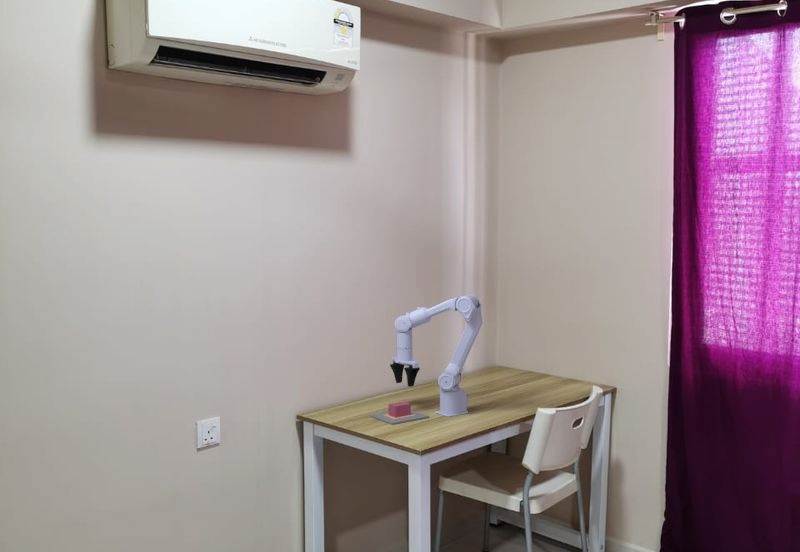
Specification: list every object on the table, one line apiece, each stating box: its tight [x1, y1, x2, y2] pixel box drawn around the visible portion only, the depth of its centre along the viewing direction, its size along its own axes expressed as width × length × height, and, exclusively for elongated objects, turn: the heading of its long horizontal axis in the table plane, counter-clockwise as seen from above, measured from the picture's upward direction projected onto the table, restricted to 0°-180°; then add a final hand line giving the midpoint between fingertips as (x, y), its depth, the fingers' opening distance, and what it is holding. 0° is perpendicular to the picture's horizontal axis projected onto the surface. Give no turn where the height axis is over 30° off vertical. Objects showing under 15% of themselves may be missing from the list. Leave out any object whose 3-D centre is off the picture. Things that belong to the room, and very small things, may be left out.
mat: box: [369, 409, 430, 426], centre depth 285 cm, size 16×14×1 cm
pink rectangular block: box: [387, 401, 412, 418], centre depth 285 cm, size 4×6×4 cm
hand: (404, 384), depth 295 cm, fingers open, 7 cm apart
